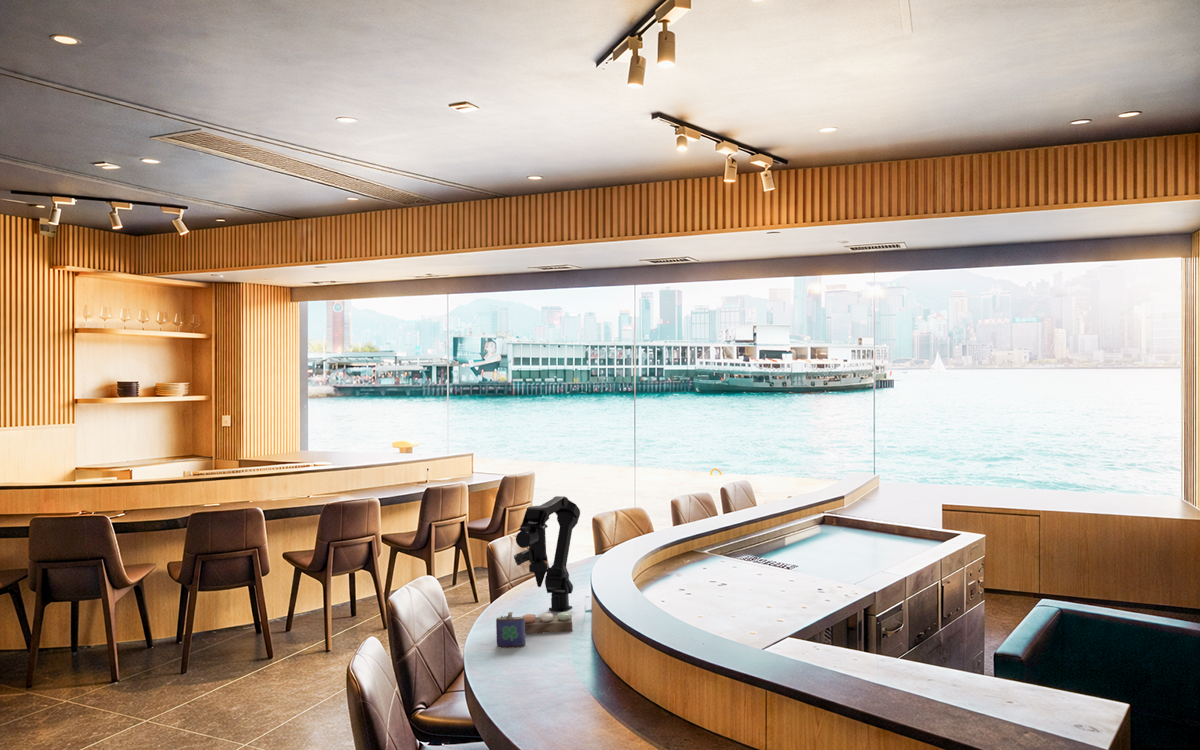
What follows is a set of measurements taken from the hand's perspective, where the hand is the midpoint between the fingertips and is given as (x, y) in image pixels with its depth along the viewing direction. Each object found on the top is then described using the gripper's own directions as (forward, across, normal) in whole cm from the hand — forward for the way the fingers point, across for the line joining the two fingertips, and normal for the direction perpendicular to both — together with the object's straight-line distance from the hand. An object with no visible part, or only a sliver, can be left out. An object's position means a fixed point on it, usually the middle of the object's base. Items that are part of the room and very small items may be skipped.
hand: (539, 586), depth 254 cm
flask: (+12, +25, -9) cm, 29 cm away
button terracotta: (+9, +10, -4) cm, 14 cm away
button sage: (+9, +10, +8) cm, 16 cm away
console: (+12, +10, +2) cm, 16 cm away
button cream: (+9, +10, +2) cm, 13 cm away
